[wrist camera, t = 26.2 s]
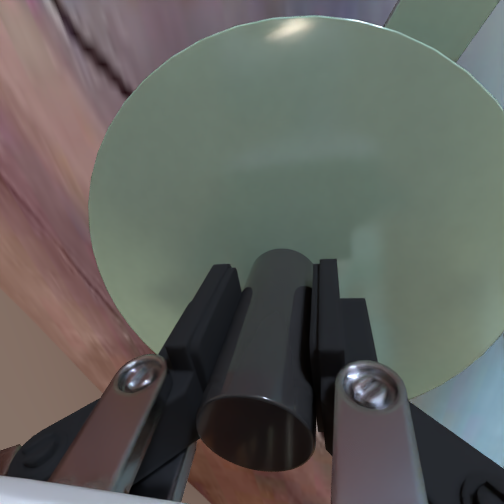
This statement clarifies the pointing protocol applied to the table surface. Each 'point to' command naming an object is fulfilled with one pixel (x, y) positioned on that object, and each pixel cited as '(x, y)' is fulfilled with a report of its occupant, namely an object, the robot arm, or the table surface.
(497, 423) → the table surface
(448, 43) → the pot
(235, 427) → the lid
